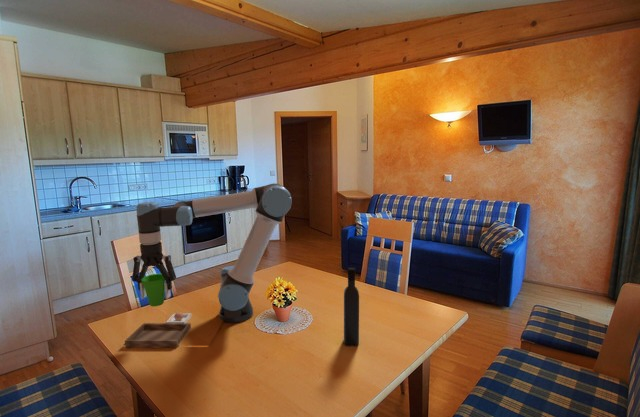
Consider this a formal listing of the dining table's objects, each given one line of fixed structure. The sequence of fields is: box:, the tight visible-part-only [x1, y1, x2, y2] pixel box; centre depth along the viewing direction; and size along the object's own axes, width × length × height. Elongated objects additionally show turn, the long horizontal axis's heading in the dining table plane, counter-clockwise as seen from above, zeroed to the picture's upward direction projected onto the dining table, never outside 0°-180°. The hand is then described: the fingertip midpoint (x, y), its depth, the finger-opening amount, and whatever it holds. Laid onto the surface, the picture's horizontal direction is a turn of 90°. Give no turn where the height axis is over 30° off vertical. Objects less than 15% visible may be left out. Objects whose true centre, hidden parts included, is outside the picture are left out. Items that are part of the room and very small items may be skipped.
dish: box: [165, 313, 193, 323], centre depth 154 cm, size 8×8×2 cm
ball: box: [174, 311, 184, 321], centre depth 154 cm, size 4×4×4 cm
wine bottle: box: [343, 267, 360, 346], centre depth 134 cm, size 6×6×30 cm
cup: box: [141, 273, 166, 307], centre depth 137 cm, size 9×9×11 cm
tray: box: [124, 322, 192, 349], centre depth 140 cm, size 20×14×3 cm
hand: (156, 297), depth 138 cm, fingers closed on cup, 9 cm apart
